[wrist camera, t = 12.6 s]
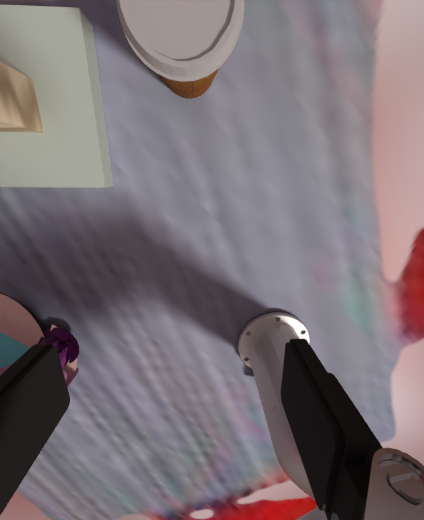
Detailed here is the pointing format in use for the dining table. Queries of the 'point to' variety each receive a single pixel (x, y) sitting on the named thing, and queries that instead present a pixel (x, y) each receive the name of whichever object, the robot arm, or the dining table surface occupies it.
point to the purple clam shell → (32, 338)
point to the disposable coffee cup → (182, 38)
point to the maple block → (18, 102)
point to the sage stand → (55, 100)
